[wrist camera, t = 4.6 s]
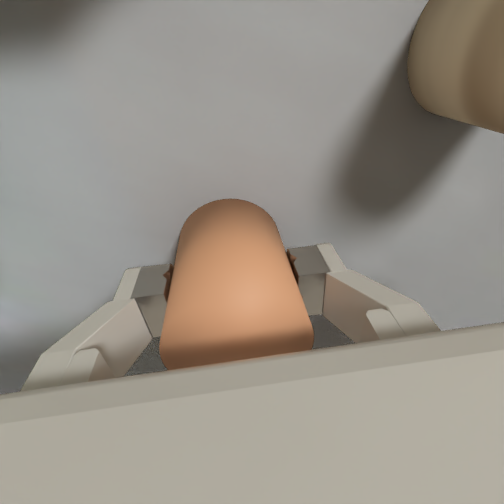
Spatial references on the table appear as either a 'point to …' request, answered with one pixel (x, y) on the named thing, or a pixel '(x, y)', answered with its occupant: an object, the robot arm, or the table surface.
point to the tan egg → (460, 61)
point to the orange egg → (232, 290)
